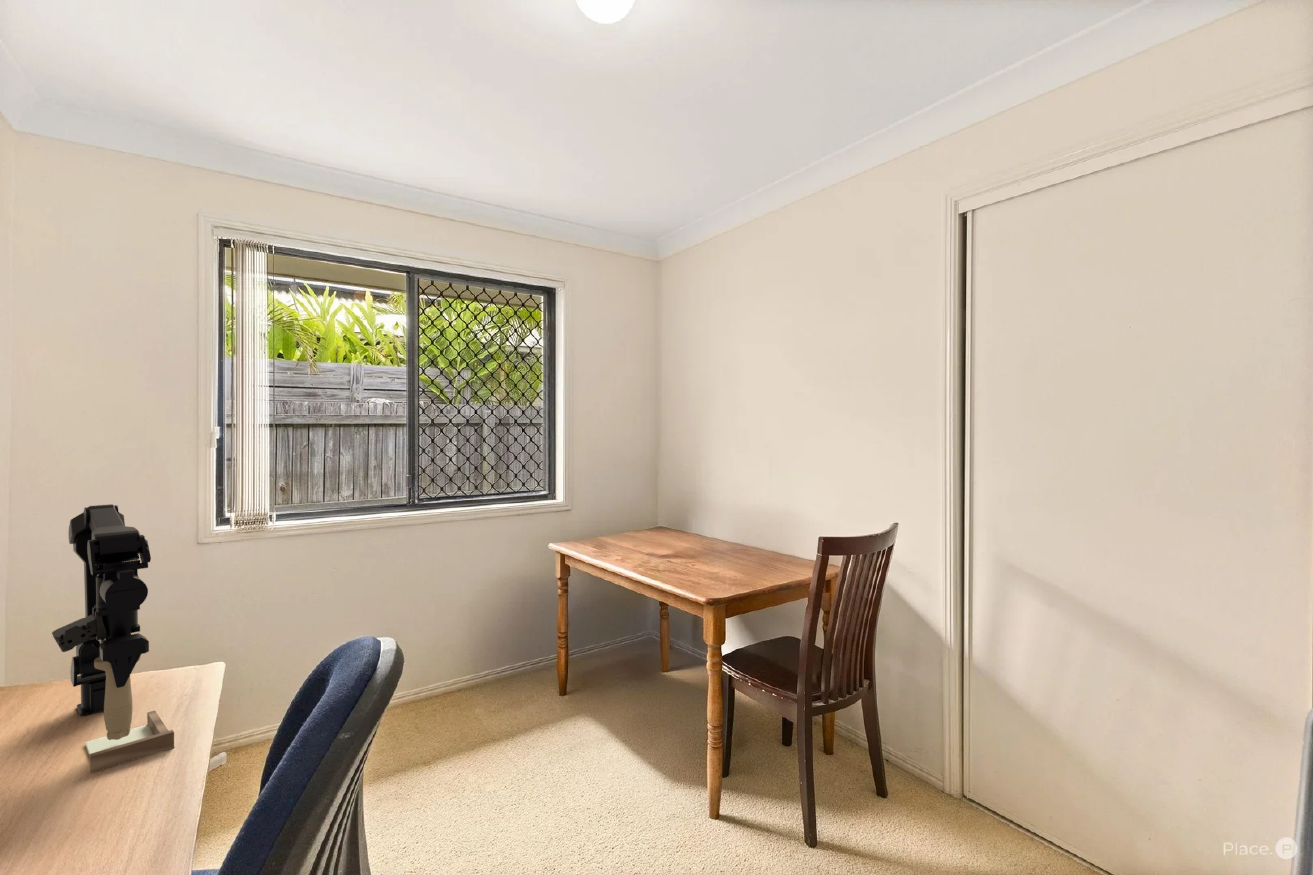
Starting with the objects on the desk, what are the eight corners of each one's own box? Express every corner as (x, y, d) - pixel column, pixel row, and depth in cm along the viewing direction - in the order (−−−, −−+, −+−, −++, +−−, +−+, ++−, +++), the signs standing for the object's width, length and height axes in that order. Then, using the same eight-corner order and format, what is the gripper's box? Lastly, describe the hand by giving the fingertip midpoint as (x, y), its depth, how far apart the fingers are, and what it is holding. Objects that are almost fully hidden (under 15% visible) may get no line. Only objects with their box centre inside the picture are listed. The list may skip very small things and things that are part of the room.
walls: (81, 746, 114) (80, 730, 114) (159, 724, 122) (158, 709, 122) (90, 773, 105) (90, 756, 105) (174, 747, 114) (174, 731, 114)
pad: (85, 745, 114) (85, 741, 114) (147, 727, 121) (147, 724, 121) (94, 769, 106) (94, 766, 106) (160, 749, 113) (160, 745, 113)
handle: (97, 736, 113) (96, 655, 113) (142, 726, 117) (141, 648, 117) (93, 747, 110) (92, 664, 109) (140, 736, 113) (139, 656, 113)
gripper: (50, 598, 113) (52, 682, 113) (61, 621, 100) (63, 715, 101) (129, 586, 121) (130, 664, 122) (149, 606, 109) (150, 693, 109)
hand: (118, 683), depth 113 cm, fingers closed on handle, 4 cm apart
